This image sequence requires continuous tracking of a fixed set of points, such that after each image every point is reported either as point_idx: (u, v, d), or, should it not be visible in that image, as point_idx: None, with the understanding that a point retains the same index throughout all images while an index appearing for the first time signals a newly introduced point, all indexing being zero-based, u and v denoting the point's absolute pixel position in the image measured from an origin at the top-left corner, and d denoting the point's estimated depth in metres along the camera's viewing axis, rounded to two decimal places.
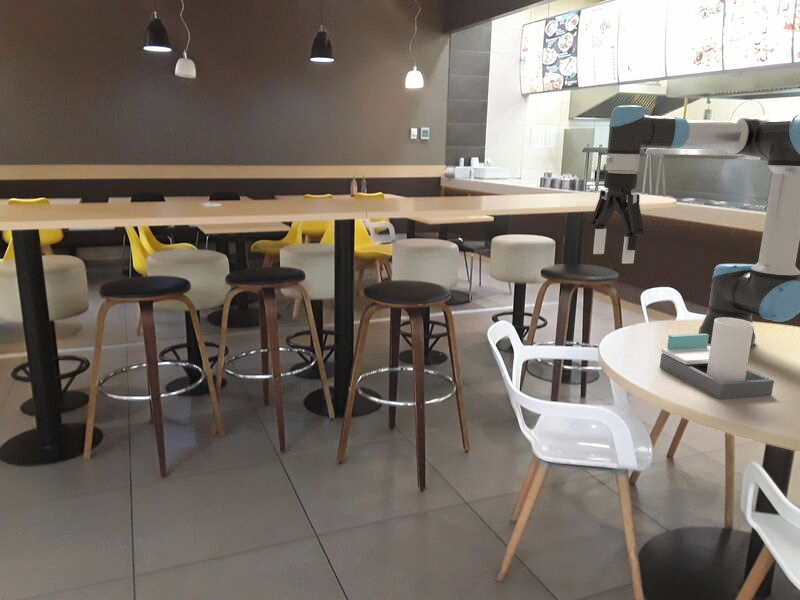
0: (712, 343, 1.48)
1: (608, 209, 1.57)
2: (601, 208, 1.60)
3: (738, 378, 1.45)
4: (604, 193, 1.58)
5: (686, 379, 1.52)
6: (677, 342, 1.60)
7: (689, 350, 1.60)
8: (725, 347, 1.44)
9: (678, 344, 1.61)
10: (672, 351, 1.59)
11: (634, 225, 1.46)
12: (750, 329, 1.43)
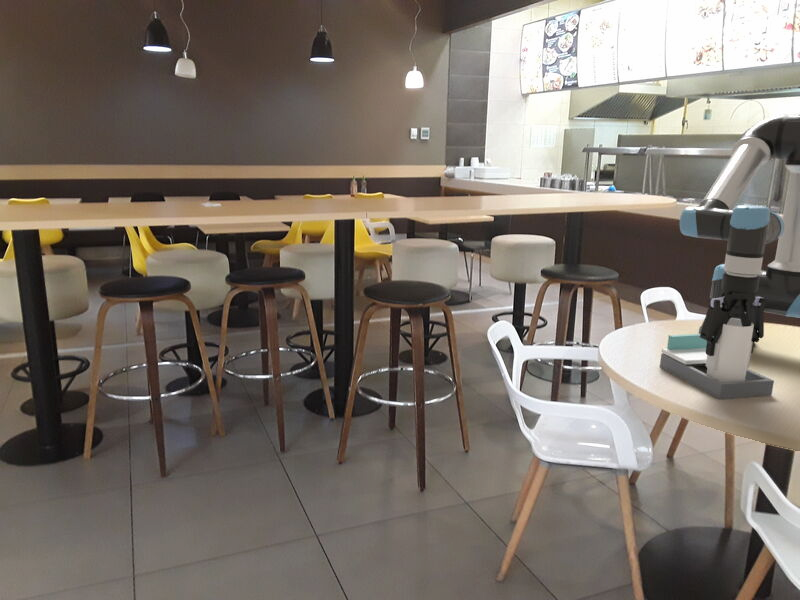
0: None
1: (740, 313, 1.47)
2: (754, 315, 1.47)
3: (738, 378, 1.45)
4: None
5: (686, 379, 1.52)
6: (677, 342, 1.60)
7: (689, 350, 1.60)
8: (725, 347, 1.44)
9: (678, 344, 1.61)
10: (672, 351, 1.59)
11: (702, 329, 1.46)
12: (750, 329, 1.43)
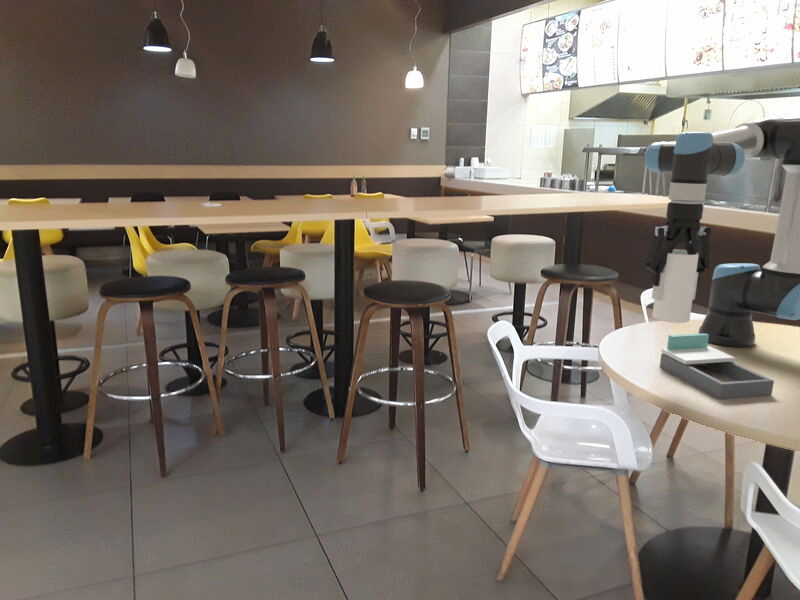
0: None
1: (686, 243, 1.46)
2: (700, 246, 1.46)
3: (683, 308, 1.44)
4: None
5: (686, 379, 1.52)
6: (677, 342, 1.60)
7: (689, 350, 1.60)
8: (670, 276, 1.43)
9: (678, 344, 1.61)
10: (672, 351, 1.59)
11: (647, 259, 1.45)
12: (694, 257, 1.42)
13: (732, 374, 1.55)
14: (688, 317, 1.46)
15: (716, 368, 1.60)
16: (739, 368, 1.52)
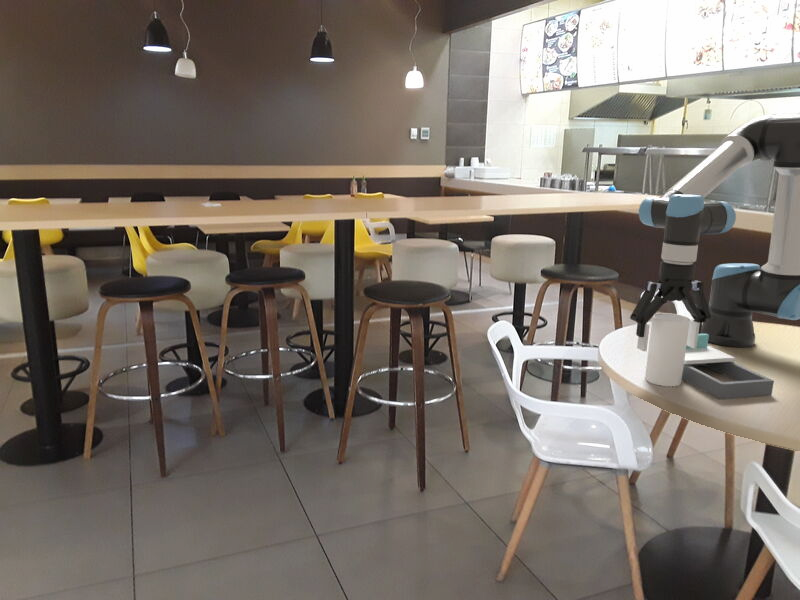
0: (650, 338, 1.50)
1: None
2: (697, 299, 1.50)
3: (675, 372, 1.48)
4: None
5: (686, 379, 1.52)
6: None
7: (689, 350, 1.60)
8: (662, 342, 1.47)
9: None
10: None
11: (634, 310, 1.47)
12: (685, 324, 1.46)
13: (732, 374, 1.55)
14: (680, 380, 1.49)
15: (716, 368, 1.60)
16: (739, 368, 1.52)
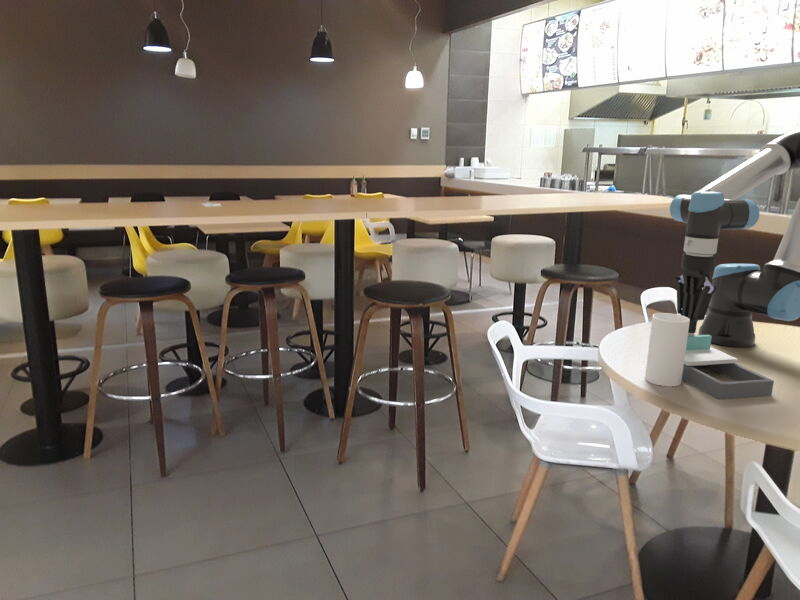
0: (650, 338, 1.50)
1: (689, 291, 1.59)
2: (682, 293, 1.62)
3: (675, 372, 1.48)
4: (679, 277, 1.63)
5: (686, 379, 1.52)
6: None
7: (692, 351, 1.59)
8: (662, 342, 1.47)
9: None
10: None
11: (698, 313, 1.56)
12: (685, 324, 1.46)
13: (732, 374, 1.55)
14: (679, 380, 1.49)
15: (716, 368, 1.60)
16: (739, 368, 1.52)
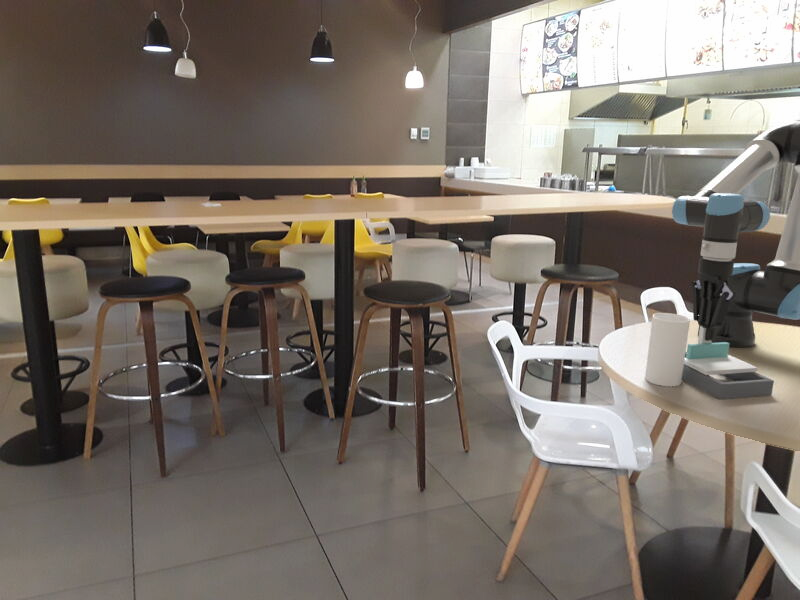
0: (650, 338, 1.50)
1: (706, 296, 1.53)
2: (699, 299, 1.56)
3: (675, 372, 1.48)
4: (696, 283, 1.57)
5: (686, 379, 1.52)
6: (696, 351, 1.53)
7: (709, 359, 1.53)
8: (662, 342, 1.47)
9: (698, 354, 1.54)
10: (692, 361, 1.52)
11: (716, 320, 1.50)
12: (685, 324, 1.46)
13: (732, 374, 1.55)
14: (679, 380, 1.49)
15: None
16: None
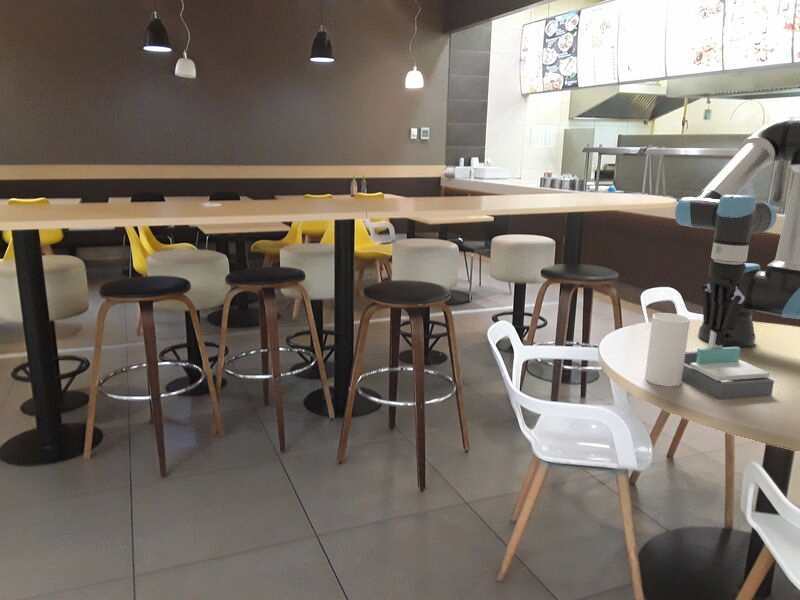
0: (650, 338, 1.50)
1: (717, 300, 1.50)
2: (709, 303, 1.53)
3: (675, 372, 1.48)
4: (706, 286, 1.53)
5: (686, 379, 1.52)
6: (707, 356, 1.50)
7: (720, 364, 1.50)
8: (662, 342, 1.47)
9: (708, 359, 1.50)
10: (702, 366, 1.48)
11: (727, 325, 1.46)
12: (685, 324, 1.46)
13: None
14: (679, 380, 1.49)
15: None
16: None
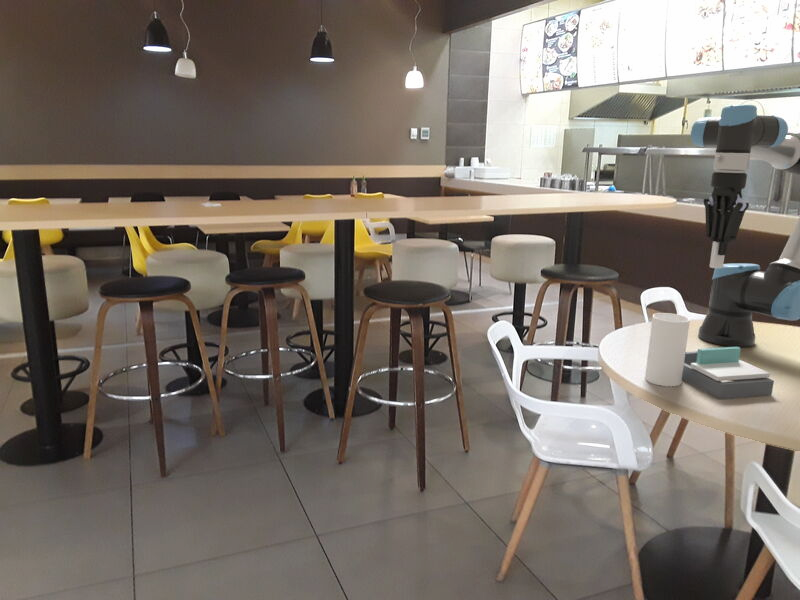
0: (650, 338, 1.50)
1: (719, 211, 1.54)
2: (711, 215, 1.57)
3: (675, 372, 1.48)
4: (708, 199, 1.57)
5: (686, 379, 1.52)
6: (707, 356, 1.50)
7: (720, 364, 1.50)
8: (662, 342, 1.47)
9: (708, 359, 1.50)
10: (702, 366, 1.48)
11: (729, 233, 1.50)
12: (685, 324, 1.46)
13: None
14: (679, 380, 1.49)
15: None
16: None
